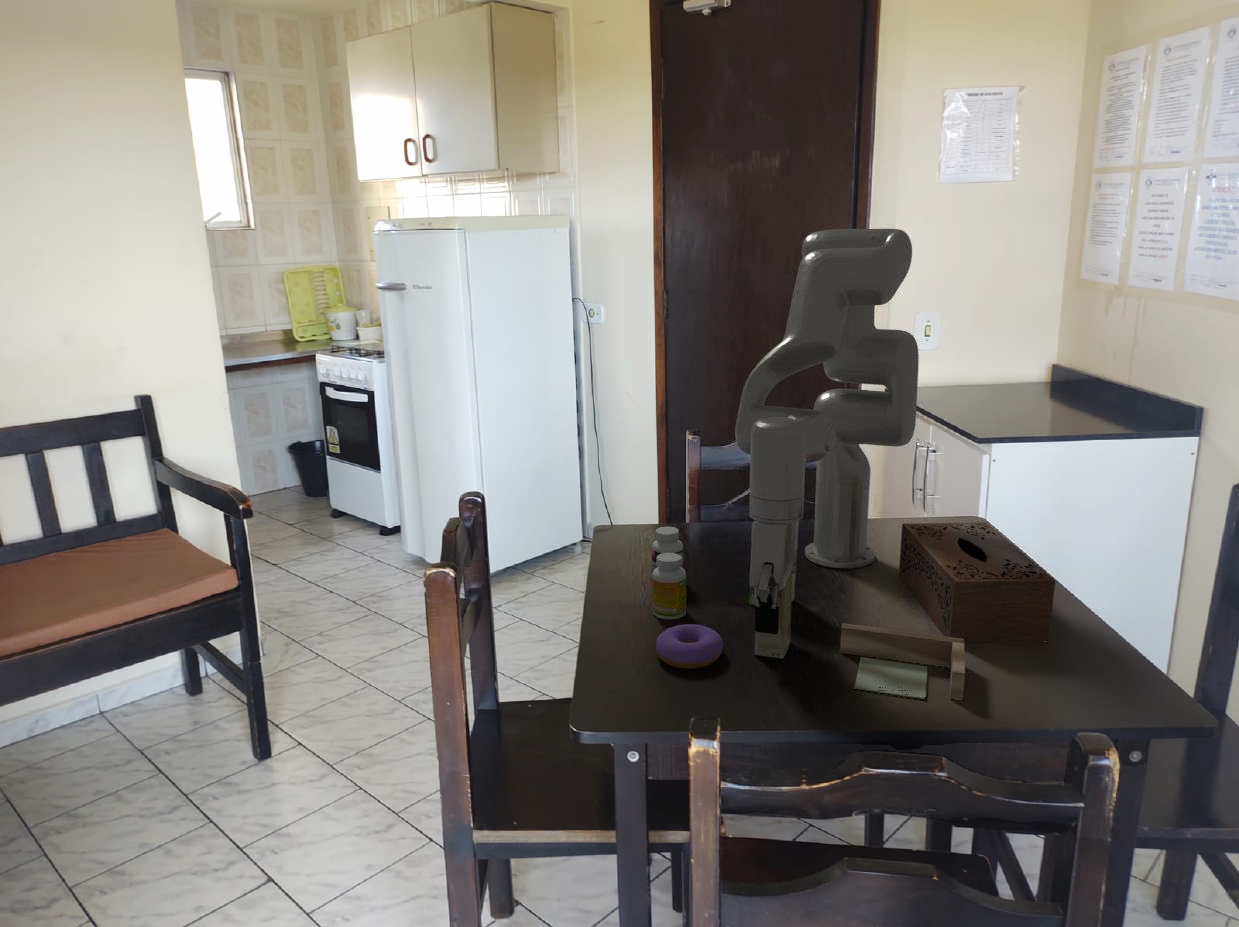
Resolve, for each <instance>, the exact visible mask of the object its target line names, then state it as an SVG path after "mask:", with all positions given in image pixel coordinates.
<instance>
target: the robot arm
mask: <svg viewBox="0 0 1239 927" xmlns="http://www.w3.org/2000/svg"><path fill="white" fill-rule="evenodd" d="M912 244H913V243H912V240H911V238H910V236H909V235H908V233H907V232H905V231H904V230H902V229H897V228H837V229H836V228H833V229H824V230H818V231H814V232H811V233H810V234H808V235H806V237H804V240H803V241H802V245H801V257H802V258H801V261H800V263H799V266H798V268H797V269H798V270H797V273H796V280H795V283H794V289H793V292H792V297H791V302H790V307H789V313H788V318H787V322H786V326H785V327H786V328H785V333H784V336H783V339H782V340H781V341H780V342H779V343H778V344H777V345H776V346H774V347H773V348H772V349H771V350H770V351H769V352H767V353H766V354H765V355H764V356H763V357H762V358H761V360H759V362H758V363H757V364H756V365H755V367H754V368H753V369H752V371H751V372H750V374H749V375H748V376H747V379H746V381H745V384H744V386H743V388H742V392H741V397H740V402H739V406H738V410H737V416H736V420H735V421H736V422H735V432H734V435H735V442H736V444H737V446H738V448H739V449H740V450H741V451H742V452H743V453H745V454H746V455H749V456H750V457H749V458H750V460H749V461H750V462H749V463H750V464H749V465H750V466H749V509H748V510H749V512H748V516H749V517H750V519H752V520H754V521H755V522H754V521H753V522H754V528H753V536H752V535H751V536H752V547H751V546H750V567H749V580H748V585H749V588H750V587H751V588H754V587H757V585H758V584H759V587H758V593H757V600H756V606H755V607H754V608H755V611H754V613H755V614H754V615H755V616H754V618H755V619H754V632H755V631H756V632H761V633H768V634H777V633H778V627H779V607H777V601H778V595H779V591H781V590H783V589H784V588H785V584H786V581H787V579H788V576H789V575H790V572H791V570H793V564H794V551H795V524H796V522H798V521H799V522H800V521H802V519H803V518H804V505H805V504H804V500H805V481H806V480H805V479H806V478H805V477H806V465H807V464H811V463H814V462H815V463H816V474H815V475H816V476H815V479H816V481H815V504H814V506H815V507H814V508H815V509H814V530H813V531H814V532H813V542H809V544H807V545H806V546H805V549H804V556H805V557H806V559H807V560H808V561H810V562H812V563H813V564H817V565H819V566H823V567H827V568H832V569H833V568H834V569H857V568H862V567H865V566H868V565H870V564H872V563H873V562H874V561H875V551H874V549H872V548H871V547H870V546H868V545H867V542H868V541H867V539H868V522H869V504H870V485H871V466H870V465H871V464H870V461H869V459H868V457H867V455H866V454H865V452H864V451H863V449H862V448H861V446H860V445H867V446H869V445H870V446H881V447H896V448H897V447H903V446H906V445H907V444H909V443H910V442H911V440H912V439H913V437H914V433H915V429H916V420H917V407H918V406H917V405H918V385H919V384H918V383H919V364H920V363H919V361H920V360H919V359H920V358H919V346H918V342H917V340H916V338H915V336H914V335H913V334H912V333H911V332H908V331H906V330H901V329H888V328H887V329H885V328H881V329H880V328H876V326H875V311H876V310H875V308H876V306H883V305H885V304H887V303H889V302H890V301H892V299H893V298H894V296H895V294H896V293H897V291H898V290H899V288H900V286H901V285H902V283H903V282H904V280H905V279H906V277H907V274H908V273H909V271H910V268H911V264H912V260H913V245H912ZM819 364H823V370H824V373H825V375H826V377H827V378H828V379H830V380H832V381H835V382H839V383H848V384H860V385H872V386H873V385H877V386H884V387H885V388H886V389H887V390H886V391H884V390H882V391H881V390H868V389H856V388H855V389H854V388H834V389H828V390H826V391H824V392H822V393H821V394H820V395H818V396H817V398H815V399H816V400H815V402H814V405H813V409H810V408H799V407H798V408H797V407H788V406H787V407H786V406H775V405H765V402H766V400H767V398H768V396H769V394H770V392H771V391H772V389H774V388H775V387H776V386H777V384H779V383H780V382H782V381H783V380H784V379H786V378H787V377H789V376H793V375H794V374H796V373H799V372H801V371H803V370H807V369H809V368H811V367H815V366H817V365H819ZM773 569H774V573H773ZM770 583H774V584H776V586H774V585H770ZM769 591H771V592H774V594H773V599H772V596H771V594H769Z"/></svg>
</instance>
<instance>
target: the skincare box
mask: <svg viewBox="0 0 1239 927" xmlns="http://www.w3.org/2000/svg"><path fill="white" fill-rule="evenodd" d="M773 573H774V569H773ZM770 585H774V586H776V584H774V583H770ZM758 587H759V584H758V585H757V587H756V600H757V593H758ZM769 594H771V596H772V599H773V594H774V592H771V591H769ZM791 597H792V570H791V572H790V575H789V576H788V579H787V581H786V584H785V588H784V589H783V590H781V591H779V595H778V601H777V607H779V627H778V633H777V634H768V633H761V632H756V631H755V630H754V632H755V633H754V655H755V656H761V657H766V658H767V657H769V658H774V659H775V658H776V659H784V658H785V656H786V654H787V652H788V649H789V646H790V644H791V632H792V631H791V629H792V628H791V627H792V626H791V625H792V622H791V620H792V602H791Z"/></svg>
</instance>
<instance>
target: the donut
mask: <svg viewBox="0 0 1239 927" xmlns="http://www.w3.org/2000/svg"><path fill="white" fill-rule="evenodd" d="M723 649H724V641H723V639H722V636H721V635H720V634H719V633H718V632H717V631H715V630H714V629H713V628H711V627H708V626H705V625H702V624H694V623H693V624H692V623H690V624H689V623H688V624H679V625H678V624H677V625H675V626H672V627H668V628H666V629H665V630H664V631H663V632H661V633H660V634H659V635H658V636H657V638H656V642H655V651H656V654H657V655H658V657H659V659H660V660H662V661H663V662H664V663H665V664H667V665H669V666H672V667H674V668H679V669H686V670H691V669H693V670H694V669H701V668H705V667H708V666H709V665H711V664H714V663H715V662H717V660H718V659H719V658H720V656H721V655H722V652H723Z"/></svg>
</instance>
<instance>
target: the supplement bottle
mask: <svg viewBox="0 0 1239 927" xmlns="http://www.w3.org/2000/svg"><path fill="white" fill-rule="evenodd" d="M656 564H657V568H656V569H655V570H654V571H653V576H652V575H651V576H652V577H651V578H652V613H653V615H654V616H655V617H656V618H659V619H662V620H670V621H671V620H677V619H678V620H679V619H681V618H682V617H683V618H684V616H685V615H686V613H687V572H686V570H685V568H684V567H683V568H682V567H681V566H682V557H681V556H680V555H679V554H675V553H662V554H659V555H658V556H657V561H656Z"/></svg>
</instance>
